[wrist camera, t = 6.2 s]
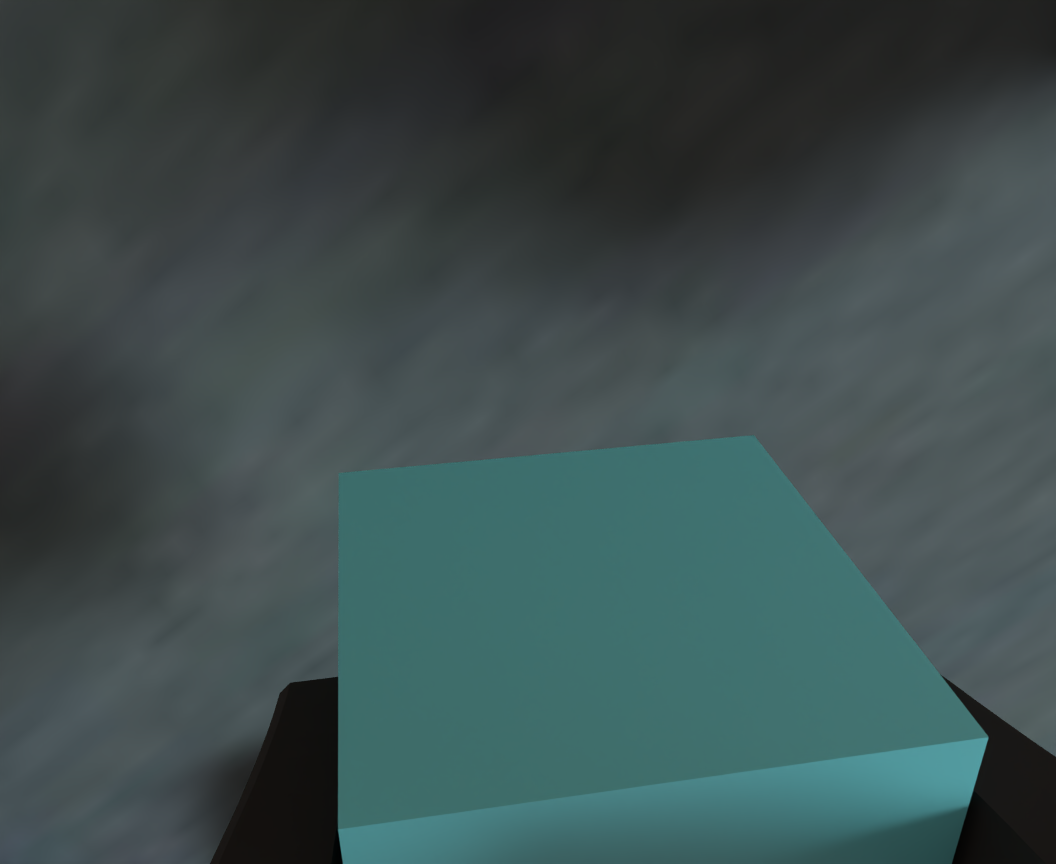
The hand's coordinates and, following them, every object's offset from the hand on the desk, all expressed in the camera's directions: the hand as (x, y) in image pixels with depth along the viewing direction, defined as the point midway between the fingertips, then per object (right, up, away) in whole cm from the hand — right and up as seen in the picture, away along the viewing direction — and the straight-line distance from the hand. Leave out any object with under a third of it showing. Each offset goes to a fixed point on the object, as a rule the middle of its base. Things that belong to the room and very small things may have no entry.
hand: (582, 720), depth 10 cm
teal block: (0, +1, +1) cm, 2 cm away
